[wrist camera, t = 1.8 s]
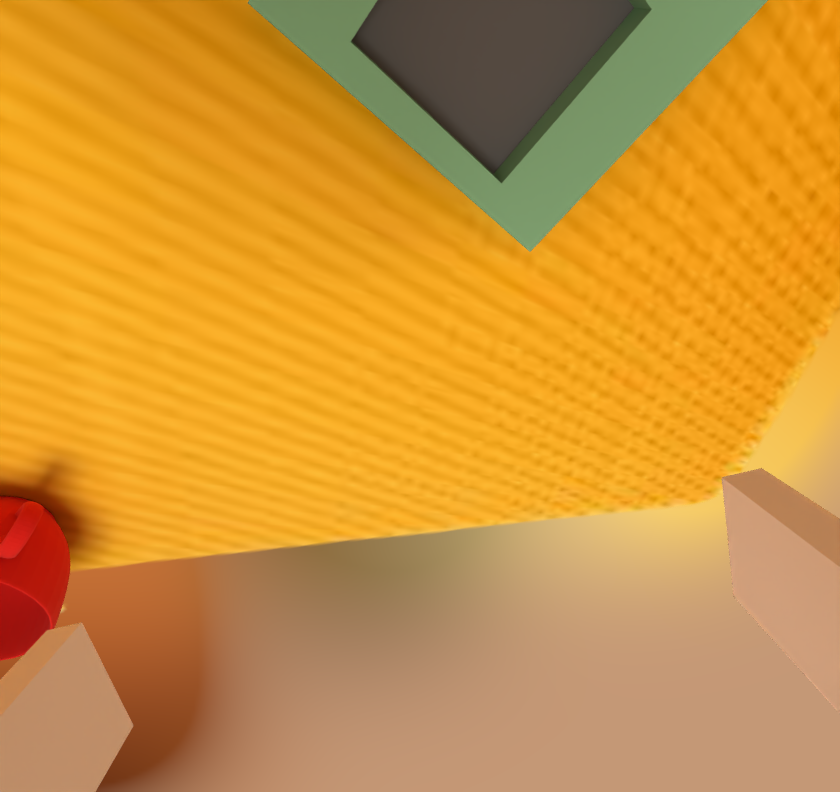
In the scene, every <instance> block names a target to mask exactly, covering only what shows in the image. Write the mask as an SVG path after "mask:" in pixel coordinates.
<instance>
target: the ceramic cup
mask: <svg viewBox="0 0 840 792" xmlns="http://www.w3.org/2000/svg"><path fill="white" fill-rule="evenodd" d="M69 574H70V555H69V548H68V544H67V541H66V538H65V536H64V534H63V532H62V530H61V528H60V527H59V525H58V524H57V522H56V520H55V518H54V516H53V515H52V514H51V513H50V512H49V511H48V510H47V509H46V508H44V507H43V506H42V505H40V504H38V503H36V502H33V501H30V500H26V499H23V498H18V497H9V496H1V497H0V661H1V660H6V659H11V658H15V657H19V656H21V655H24V654H25V653H26V652H27V651H28V650H29V649H30V648H31V647H32V646H33V645H34V644H35V643H36V642H37V640H38V639H39V638H40V637H41V636H42V635H43V634H44V633H45V632H46V631H47V630H51V629H54V628H55V625H56V623H57V620H58V617H59V614H60V611H61V608H62V605H63V601H64V598H65V594H66V590H67V585H68V580H69Z"/></svg>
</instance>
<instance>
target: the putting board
mask: <svg viewBox="0 0 840 792" xmlns="http://www.w3.org/2000/svg"><path fill="white" fill-rule="evenodd" d="M767 1H768V0H249V2H248V4H250V5H251V6H252V7H253V8H254V9H255V10H256V11H257V12H259V13H260V14H261V15H262V16H263V17H264V18H265V19H267V20H268V21H269V22H270V23H271V24H272V25H273V26H274V27H276V28H277V29H278V30H279V31H280V32H281V33H282V34H284V35H285V36H286V37H287V38H288V39H289V40H290V41H291V42H293V43H294V44H295V45H296V46H297V47H298V48H299V49H301V50H302V51H303V52H304V53H305V54H306V55H307V56H309V57H310V58H311V59H312V60H313V61H314V62H315V63H316V64H318V65H319V66H320V67H321V68H322V69H323V70H324V71H326V72H327V73H328V74H329V75H330V76H331V77H332V78H333V79H335V80H336V81H337V82H338V83H339V84H340V85H341V86H343V87H344V88H345V89H346V90H347V91H348V92H349V93H350V94H352V95H353V96H354V97H355V98H356V99H357V100H358V101H360V102H361V103H362V104H363V105H364V106H365V107H366V108H367V109H369V110H370V111H371V112H372V113H373V114H374V115H375V116H377V117H378V118H379V119H380V120H381V121H382V122H383V123H385V124H386V125H387V126H388V127H389V128H390V129H391V130H392V131H394V132H395V133H396V134H397V135H398V136H399V137H400V138H402V139H403V140H404V141H405V142H406V143H407V144H408V145H409V146H411V147H412V148H413V149H414V150H415V151H416V152H417V153H419V154H420V155H421V156H422V157H423V158H424V159H425V160H426V161H428V162H429V163H430V164H431V165H432V166H433V167H434V168H436V169H437V170H438V171H439V172H440V173H441V174H442V175H443V176H445V177H446V178H447V179H448V180H449V181H450V182H451V183H453V184H454V185H455V186H456V187H457V188H458V189H459V190H460V191H462V192H463V193H464V194H465V195H466V196H467V197H468V198H470V199H471V200H472V201H473V202H474V203H475V204H476V205H478V206H479V207H480V208H481V209H482V210H483V211H484V212H485V213H487V214H488V215H489V216H490V217H491V218H492V219H493V220H495V221H496V222H497V223H498V224H499V225H500V226H501V227H502V228H504V229H505V230H506V231H507V232H508V233H509V234H510V235H512V236H513V237H514V238H515V239H516V240H517V241H518V242H519V243H521V244H522V245H523V246H524V247H525V248H526V249H527V250H529V251H531V250H532V249H533V248H534V247H535V246H536V245H537V244H538V243H539V242H540V241H541V240H542V239H543V238H544V237H545V236H546V234H547V233H548V232H549V231H550V230H551V229H552V228H553V227H554V226H555V225H556V224H557V223H558V222H559V221H560V220H561V219H562V218H563V217H564V215H565V214H566V213H567V212H568V211H569V210H570V209H571V208H572V207H573V206H574V205H575V204H576V203H577V202H578V201H579V200H580V199H581V197H582V196H583V195H584V194H585V193H586V192H587V191H588V190H589V189H590V188H591V187H592V186H593V185H594V184H595V183H596V182H597V181H598V179H599V178H600V177H601V176H602V175H603V174H604V173H605V172H606V171H607V170H608V169H609V168H610V167H611V166H612V165H613V164H614V163H615V162H616V160H617V159H618V158H619V157H620V156H621V155H622V154H623V153H624V152H625V151H626V150H627V149H628V148H629V147H630V146H631V145H632V144H633V142H634V141H635V140H636V139H637V138H638V137H639V136H640V135H641V134H642V133H643V132H644V131H645V130H646V129H647V128H648V127H649V126H650V124H651V123H652V122H653V121H654V120H655V119H656V118H657V117H658V116H659V115H660V114H661V113H662V112H663V111H664V110H665V109H666V108H667V107H668V105H669V104H670V103H671V102H672V101H673V100H674V99H675V98H676V97H677V96H678V95H679V94H680V93H681V92H682V91H683V90H684V89H685V87H686V86H687V85H688V84H689V83H690V82H691V81H692V80H693V79H694V78H695V77H696V76H697V75H698V74H699V73H700V72H701V71H702V69H703V68H704V67H705V66H706V65H707V64H708V63H709V62H710V61H711V60H712V59H713V58H714V57H715V56H716V55H717V54H718V53H719V52H720V50H721V49H722V48H723V47H724V46H725V45H726V44H727V43H728V42H729V41H730V40H731V39H732V38H733V37H734V36H735V35H736V34H737V32H738V31H739V30H740V29H741V28H742V27H743V26H744V25H745V24H746V23H747V22H748V21H749V20H750V19H751V18H752V17H753V16H754V14H755V13H756V12H757V11H758V10H759V9H760V8H761V7H762V6H763V5H764V4H765V3H766V2H767Z"/></svg>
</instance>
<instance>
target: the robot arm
mask: <svg viewBox="0 0 840 792" xmlns="http://www.w3.org/2000/svg"><path fill="white" fill-rule="evenodd" d="M722 485H723V495H724V505H725V515H726V525H727V535H728V545H729V555H730V565H731V574H732V585H733V595H734V597H735V599H736V600H737V601H738V602H739V603H740V604H741V605H742V606H743V607H744V609H745V610H746V611H747V612H748V613H749V614H750V615H751V616H752V617H753V619H754V620H755V621H756V622H757V623H758V624H759V625H760V626H761V627H762V628H763V630H765V632H766V633H767V634H768V635H769V636H770V637H771V638H772V640H774V642H775V643H776V644H777V645H778V646H779V647H780V648H781V649H782V650H783V652H784V653H785V654H786V655H787V656H788V657H789V658H790V659H791V660H792V661H793V663H794V664H795V665H796V666H797V667H798V668H799V669H800V670H801V671H802V673H803V674H804V675H805V676H806V677H807V678H808V679H809V680H810V681H811V683H813V685H814V686H815V687H816V688H817V689H818V690H819V691H820V692H821V694H822V695H824V697H825V698H826V699H827V700H828V701H829V702H830V704H832V706H833V707H834V708H835V709H836V710H837V711H838V712H839V713H840V519H839V518H838V517H836V516H834V515H833V514H831V513H830V512H828V511H826V510H825V509H824V508H822V507H821V506H819V505H817V504H816V503H814V502H813V501H811V500H810V499H808V498H807V497H805V496H804V495H802V494H801V493H799V492H798V491H796V490H794V489H793V488H791V487H790V486H788V485H787V484H785V483H784V482H782V481H781V480H779V479H777V478H776V477H774V476H773V475H771V474H770V473H768V472H767V471H765V470H763V469H762V468H761V469H756V470H752V471H748V472H743V473H739V474H734V475H730V476H726V477H722ZM132 727H133V724H132V722H131V720H130V718H129V716H128V714H127V712H126V710H125V708H124V706H123V704H122V702H121V700H120V698H119V696H118V694H117V692H116V690H115V688H114V686H113V684H112V682H111V680H110V678H109V676H108V674H107V672H106V670H105V668H104V666H103V664H102V662H101V660H100V658H99V656H98V654H97V652H96V650H95V648H94V646H93V644H92V642H91V640H90V638H89V636H88V634H87V632H86V630H85V628H84V626H83V624H82V623H78V624H73V625H69V626H64V627H60V628H56V629H51V630H47V631H46V632H45V633H44V634H43V635H42V636H41V637H40V638H39V639H38V640H37V642H36V643H35V644H34V645H33V646H32V647H31V648H30V649H29V650H28V651H27V652H26V653H25V654H24V655H23V656H22V657H21V659H20V660H19V661H18V662H17V663H16V664H15V665H14V666H13V667H12V668H11V669H10V670H9V671H8V672H7V673H6V675H5V676H4V677H3V678H2V679H1V680H0V792H95V791H96V790H97V788H98V786H99V784H100V783H101V781H102V779H103V778H104V776H105V774H106V772H107V770H108V769H109V767H110V765H111V764H112V762H113V760H114V758H115V757H116V755H117V753H118V751H119V749H120V748H121V746H122V744H123V743H124V741H125V739H126V737H127V736H128V734H129V732H130V730H131V729H132Z"/></svg>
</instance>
